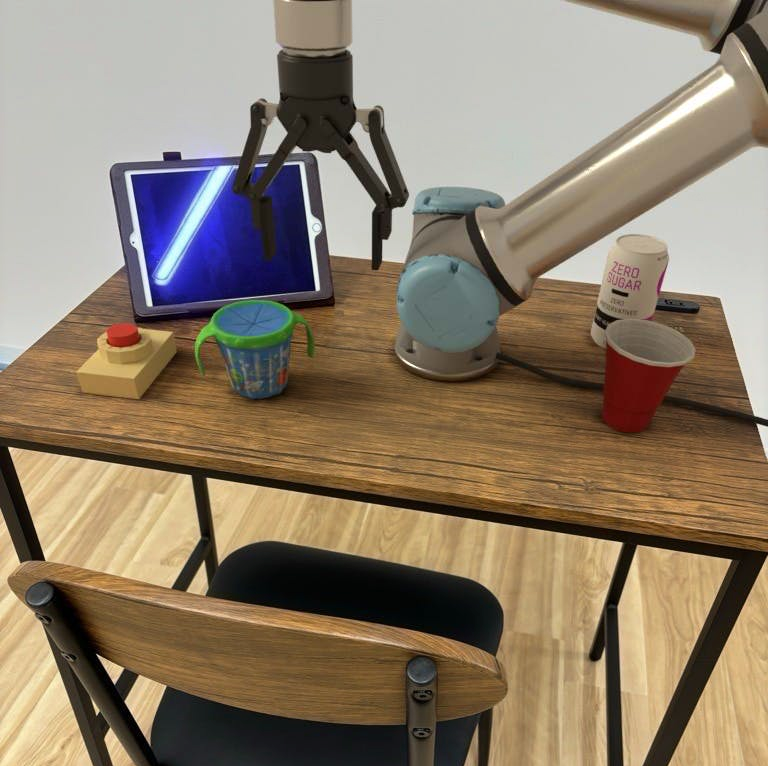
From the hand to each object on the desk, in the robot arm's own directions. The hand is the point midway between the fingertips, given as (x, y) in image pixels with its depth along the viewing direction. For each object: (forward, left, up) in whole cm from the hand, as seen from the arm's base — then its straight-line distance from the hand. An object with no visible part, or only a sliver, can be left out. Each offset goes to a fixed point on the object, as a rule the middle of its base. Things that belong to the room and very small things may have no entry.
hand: (323, 261), depth 87 cm
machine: (+28, 0, -18) cm, 33 cm away
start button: (+28, 0, -14) cm, 31 cm away
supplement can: (-40, -24, -19) cm, 50 cm away
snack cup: (+9, 0, -19) cm, 21 cm away
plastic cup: (-40, -2, -19) cm, 44 cm away
